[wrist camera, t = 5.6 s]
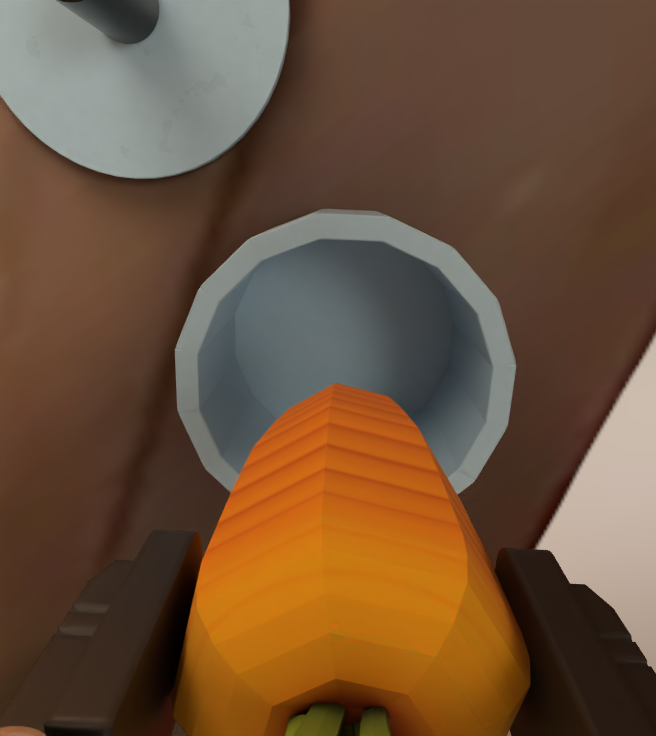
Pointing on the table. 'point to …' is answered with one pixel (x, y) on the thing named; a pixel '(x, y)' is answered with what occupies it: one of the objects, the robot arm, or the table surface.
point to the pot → (345, 339)
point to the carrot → (348, 591)
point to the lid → (141, 77)
